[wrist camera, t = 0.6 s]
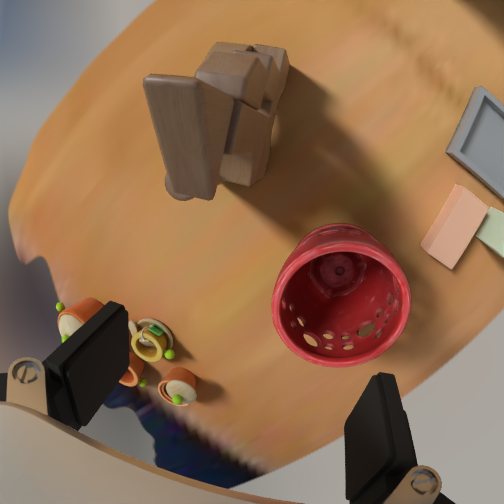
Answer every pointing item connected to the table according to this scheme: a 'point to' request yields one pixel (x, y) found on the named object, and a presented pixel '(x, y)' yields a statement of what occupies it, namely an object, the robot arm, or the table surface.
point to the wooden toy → (217, 118)
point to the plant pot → (340, 296)
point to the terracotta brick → (454, 226)
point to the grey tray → (481, 140)
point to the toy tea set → (137, 350)
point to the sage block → (493, 231)
